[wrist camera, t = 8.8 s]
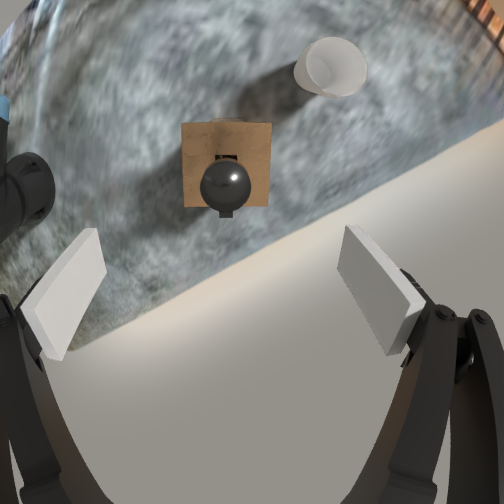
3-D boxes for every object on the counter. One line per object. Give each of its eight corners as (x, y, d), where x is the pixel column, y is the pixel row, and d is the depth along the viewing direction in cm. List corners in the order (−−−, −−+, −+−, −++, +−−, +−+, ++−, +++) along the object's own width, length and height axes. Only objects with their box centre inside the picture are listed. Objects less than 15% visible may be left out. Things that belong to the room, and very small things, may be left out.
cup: (320, 108, 43) (347, 110, 32) (276, 79, 40) (291, 71, 30) (346, 70, 39) (378, 64, 29) (303, 40, 37) (326, 23, 26)
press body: (196, 192, 49) (185, 226, 36) (195, 118, 42) (181, 123, 29) (255, 191, 50) (266, 226, 36) (258, 118, 43) (272, 123, 30)
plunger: (201, 175, 43) (184, 228, 25) (201, 128, 39) (180, 145, 22) (250, 175, 44) (267, 228, 26) (252, 128, 40) (272, 145, 22)
